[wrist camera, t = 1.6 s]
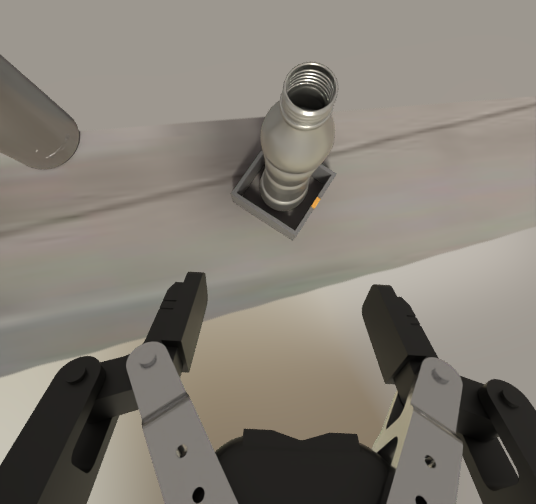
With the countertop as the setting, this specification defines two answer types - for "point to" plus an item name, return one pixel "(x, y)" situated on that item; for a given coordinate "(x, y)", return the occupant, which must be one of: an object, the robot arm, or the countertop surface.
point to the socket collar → (319, 174)
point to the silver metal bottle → (297, 134)
